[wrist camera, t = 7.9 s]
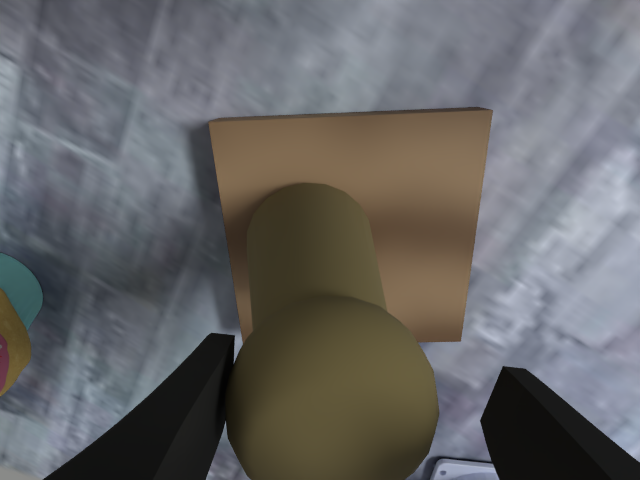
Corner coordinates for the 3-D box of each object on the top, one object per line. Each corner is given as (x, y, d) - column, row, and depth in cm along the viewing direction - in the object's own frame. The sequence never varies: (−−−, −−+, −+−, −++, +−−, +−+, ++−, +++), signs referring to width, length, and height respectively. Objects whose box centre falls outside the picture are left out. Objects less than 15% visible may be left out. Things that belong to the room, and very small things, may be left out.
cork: (223, 264, 18) (143, 510, 8) (287, 156, 16) (287, 297, 6) (328, 315, 19) (373, 569, 10) (397, 223, 18) (541, 418, 8)
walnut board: (447, 314, 23) (460, 341, 20) (251, 319, 23) (243, 346, 21) (471, 105, 18) (492, 110, 15) (223, 116, 18) (208, 121, 16)
